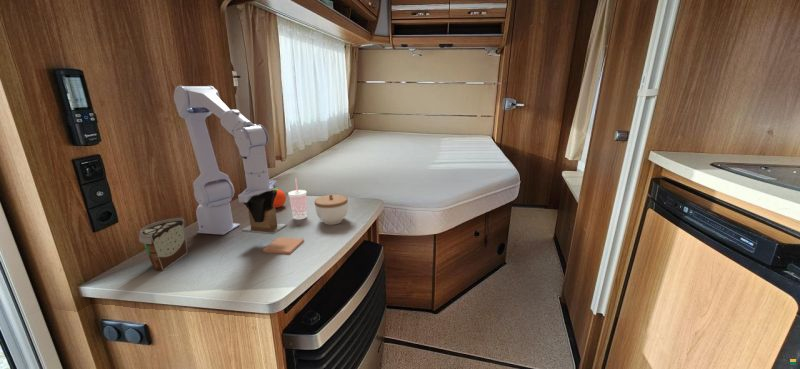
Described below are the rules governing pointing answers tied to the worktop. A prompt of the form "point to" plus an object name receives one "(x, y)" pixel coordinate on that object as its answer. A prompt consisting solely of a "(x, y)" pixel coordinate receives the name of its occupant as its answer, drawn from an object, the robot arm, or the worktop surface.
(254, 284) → the worktop surface
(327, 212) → the lidded jar
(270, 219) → the tan block on plate
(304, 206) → the beverage cup
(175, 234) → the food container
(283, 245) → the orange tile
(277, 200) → the clementine
